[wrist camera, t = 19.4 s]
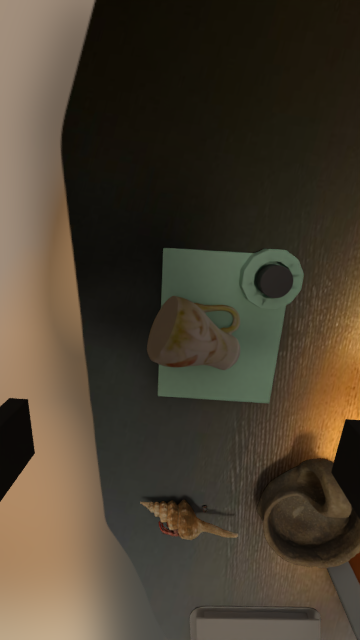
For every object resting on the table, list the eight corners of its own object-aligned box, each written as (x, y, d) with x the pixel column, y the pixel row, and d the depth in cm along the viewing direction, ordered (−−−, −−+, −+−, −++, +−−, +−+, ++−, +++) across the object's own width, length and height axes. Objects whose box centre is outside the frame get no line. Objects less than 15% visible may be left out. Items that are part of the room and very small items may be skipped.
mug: (225, 375, 33) (183, 414, 25) (171, 322, 36) (116, 341, 27) (265, 332, 29) (230, 361, 21) (201, 277, 32) (148, 284, 24)
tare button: (258, 263, 27) (262, 264, 26) (289, 265, 27) (296, 266, 26) (254, 294, 28) (258, 297, 27) (284, 295, 28) (290, 299, 27)
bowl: (251, 524, 41) (270, 608, 32) (254, 427, 37) (278, 493, 27) (342, 523, 41) (389, 610, 31) (358, 426, 36) (420, 492, 26)
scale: (164, 242, 30) (161, 242, 27) (294, 250, 30) (308, 251, 27) (159, 389, 35) (155, 404, 32) (269, 396, 35) (278, 412, 32)
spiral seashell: (146, 520, 42) (142, 552, 38) (141, 496, 40) (135, 526, 36) (234, 515, 41) (239, 547, 37) (232, 489, 40) (237, 520, 35)
